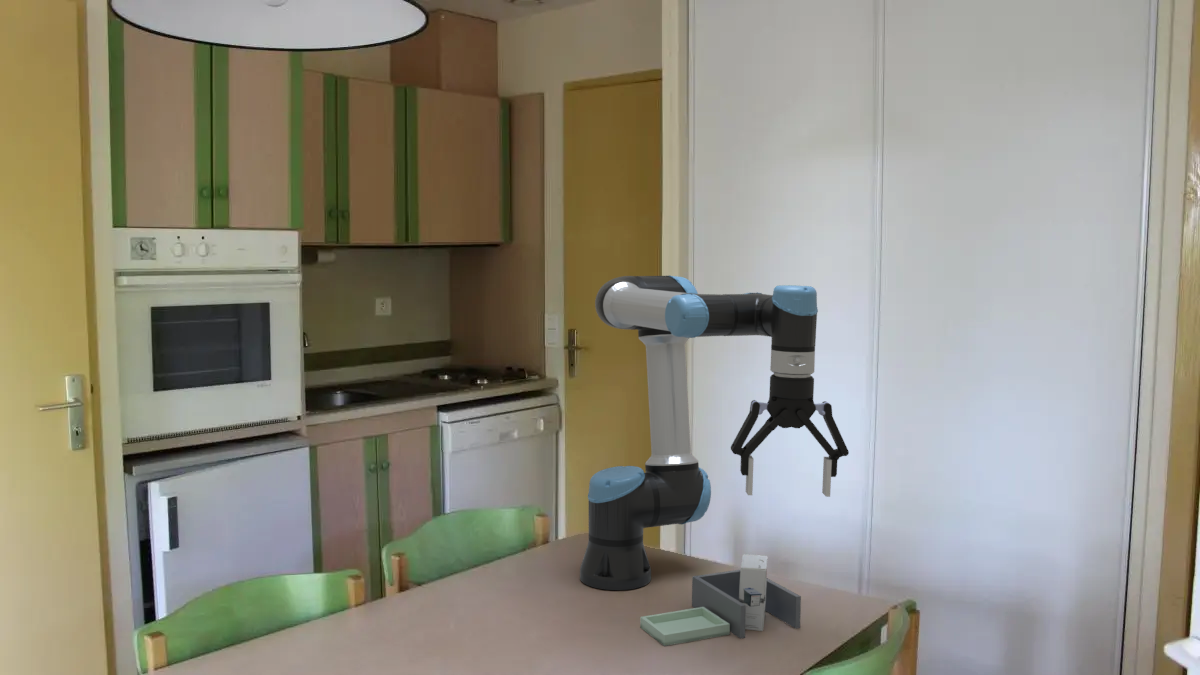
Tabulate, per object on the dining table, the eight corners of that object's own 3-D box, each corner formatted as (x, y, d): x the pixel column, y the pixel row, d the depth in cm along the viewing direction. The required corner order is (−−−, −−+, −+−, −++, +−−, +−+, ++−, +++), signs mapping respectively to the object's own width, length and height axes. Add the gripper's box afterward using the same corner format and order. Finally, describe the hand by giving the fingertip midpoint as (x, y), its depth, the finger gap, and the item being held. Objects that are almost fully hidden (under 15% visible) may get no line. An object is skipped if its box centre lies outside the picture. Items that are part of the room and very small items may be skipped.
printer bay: (691, 606, 187) (692, 576, 187) (748, 597, 192) (748, 568, 192) (740, 638, 171) (740, 606, 171) (800, 627, 176) (800, 596, 176)
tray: (640, 627, 176) (640, 616, 176) (703, 616, 181) (703, 606, 181) (664, 646, 167) (664, 635, 167) (729, 634, 173) (729, 623, 173)
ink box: (740, 612, 184) (741, 553, 183) (766, 614, 183) (768, 554, 182) (737, 629, 176) (738, 567, 175) (765, 631, 175) (766, 569, 174)
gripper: (723, 376, 162) (719, 498, 164) (869, 378, 162) (864, 500, 164) (717, 370, 169) (714, 487, 171) (858, 372, 169) (852, 489, 171)
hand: (787, 494), depth 168 cm, fingers open, 13 cm apart
